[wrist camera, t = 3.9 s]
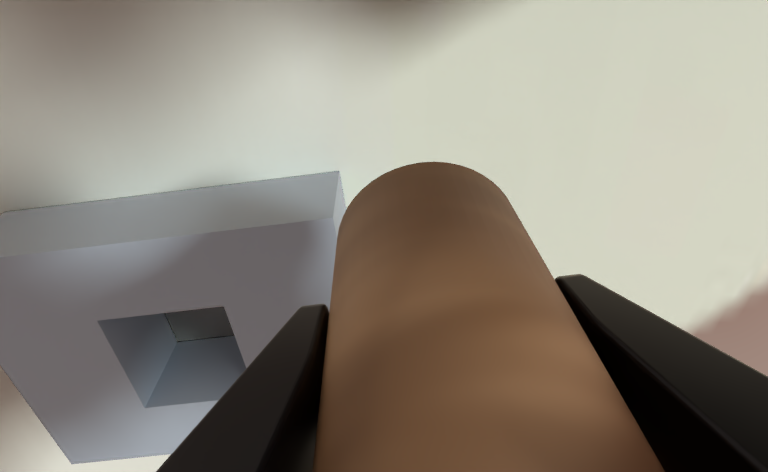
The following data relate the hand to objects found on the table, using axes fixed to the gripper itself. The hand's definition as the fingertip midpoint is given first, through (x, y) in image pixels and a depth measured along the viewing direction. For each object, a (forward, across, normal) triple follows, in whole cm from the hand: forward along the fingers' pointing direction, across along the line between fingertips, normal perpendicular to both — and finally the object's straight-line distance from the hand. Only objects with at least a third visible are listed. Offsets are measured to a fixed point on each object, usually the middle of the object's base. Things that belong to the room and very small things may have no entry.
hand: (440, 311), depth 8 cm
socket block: (+12, +10, +8) cm, 17 cm away
